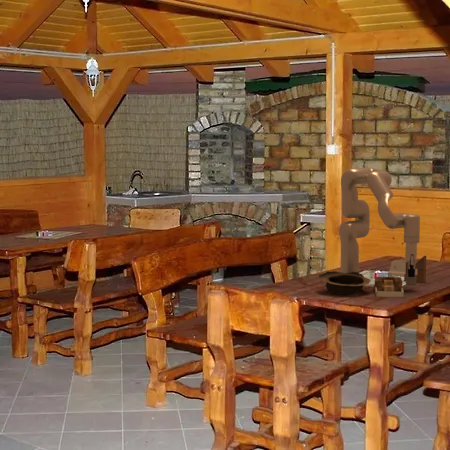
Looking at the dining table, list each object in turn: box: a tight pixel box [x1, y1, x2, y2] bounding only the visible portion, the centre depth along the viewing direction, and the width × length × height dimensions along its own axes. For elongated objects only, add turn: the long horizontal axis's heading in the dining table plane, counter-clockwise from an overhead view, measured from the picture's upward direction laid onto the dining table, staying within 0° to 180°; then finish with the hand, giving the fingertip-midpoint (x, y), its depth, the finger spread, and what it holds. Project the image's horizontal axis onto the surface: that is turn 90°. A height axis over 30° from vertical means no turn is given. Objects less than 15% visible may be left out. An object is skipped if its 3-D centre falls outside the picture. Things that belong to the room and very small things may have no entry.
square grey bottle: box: [405, 262, 418, 287], centre depth 408 cm, size 5×4×14 cm
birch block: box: [385, 285, 394, 292], centre depth 397 cm, size 4×4×4 cm
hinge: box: [388, 259, 417, 278], centre depth 454 cm, size 17×5×10 cm, turn 59°
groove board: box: [374, 276, 403, 292], centre depth 411 cm, size 13×13×6 cm
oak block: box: [384, 280, 393, 292], centre depth 401 cm, size 4×4×6 cm
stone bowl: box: [318, 270, 371, 296], centre depth 406 cm, size 25×25×9 cm
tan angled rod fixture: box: [403, 255, 427, 284], centre depth 434 cm, size 4×11×18 cm, turn 55°
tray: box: [374, 287, 405, 298], centre depth 399 cm, size 13×12×2 cm
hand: (411, 276), depth 408 cm, fingers closed on square grey bottle, 3 cm apart
